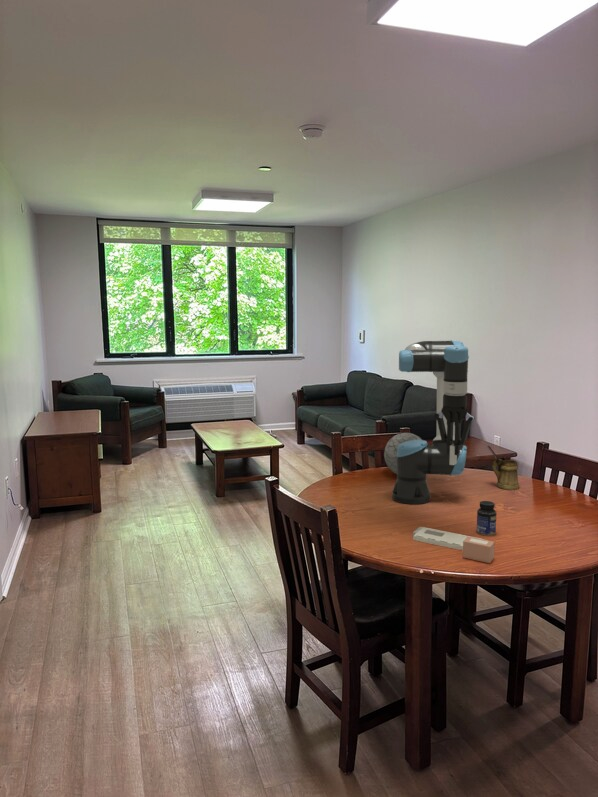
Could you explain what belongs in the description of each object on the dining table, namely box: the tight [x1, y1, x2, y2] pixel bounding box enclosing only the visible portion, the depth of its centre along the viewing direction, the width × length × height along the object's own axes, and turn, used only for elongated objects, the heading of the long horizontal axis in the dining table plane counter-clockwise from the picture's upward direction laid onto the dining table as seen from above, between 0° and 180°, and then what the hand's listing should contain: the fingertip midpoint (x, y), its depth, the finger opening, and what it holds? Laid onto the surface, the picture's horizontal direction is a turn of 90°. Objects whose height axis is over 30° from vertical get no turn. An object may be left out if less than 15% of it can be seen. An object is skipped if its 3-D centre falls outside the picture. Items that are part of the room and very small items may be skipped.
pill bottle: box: [476, 500, 497, 537], centre depth 188 cm, size 6×6×11 cm
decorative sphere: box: [383, 432, 423, 475], centre depth 259 cm, size 20×20×20 cm
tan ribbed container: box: [487, 445, 520, 491], centre depth 241 cm, size 9×14×18 cm, turn 81°
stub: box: [462, 536, 496, 564], centre depth 169 cm, size 8×4×5 cm, turn 57°
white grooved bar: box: [412, 526, 485, 552], centre depth 181 cm, size 20×9×2 cm, turn 57°
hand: (453, 463), depth 188 cm, fingers closed
